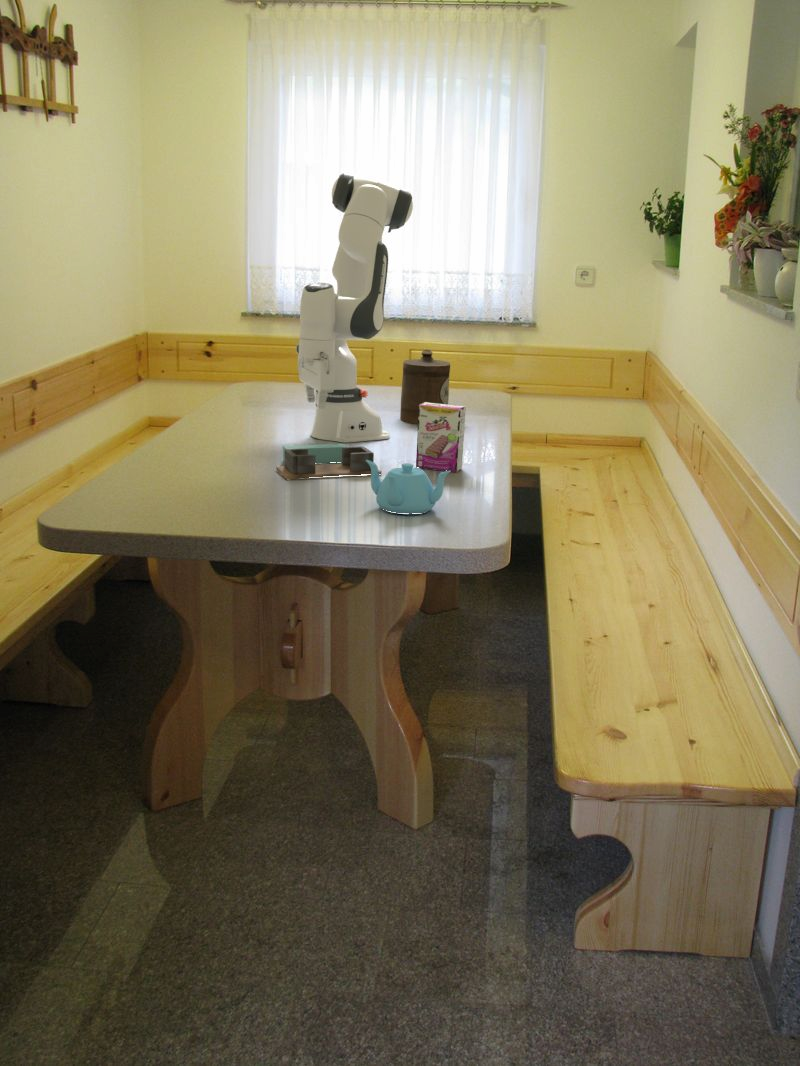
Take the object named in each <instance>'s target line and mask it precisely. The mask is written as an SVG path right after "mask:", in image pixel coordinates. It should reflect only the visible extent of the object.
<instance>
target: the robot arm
mask: <svg viewBox="0 0 800 1066" xmlns="http://www.w3.org/2000/svg"><path fill="white" fill-rule="evenodd" d="M331 200H332V204H333V206H334V208H335V209H337V210H338V211H339V212H341V213H343V217H342V218H341V219H342V220H341V222H340V225H339V230H338V242H339V245H338V247H337V251H336V254H335V257H334V261H333V265H332V268H331V273H332V276H333V278H334V279H335V280H336V285H337V286H336V287H337V289H336V292H335V288H334V285H332V284H330V283H327V282H315V283H314V282H313V283H309V284H307V285H305V286H304V287H303V289H302V293H301V297H300V298H301V299H300V307H299V322H300V326H301V327H300V333H299V338H298V339H299V341H298V343H297V344H296V346H295V352H296V354H298V355H297V370H298V377H299V381H300V382H301V383H303V384H304V389H305V393H306V401H307V402H309V403H314V404H315V414H314V421H313V424H312V425H313V426H312V429H311V433H310V437H312V438H314V439H319V440H325V441H335V442H339V443H354V442H365V441H377V440H389V439H390V433H389V432H388V431H387V430H385V429H383V425H382V424H383V423H382V420H381V417H380V414H379V413H378V412H377V411H375V409H373V408H372V407H371V406H369V405H368V404H367V403H366V402H365V401H364V400H363V399H364V398H367V397H368V396H369V392H368V391H367V390H366V389H360V388H359V387H357V374H358V373H357V371H358V367H357V365H358V361H357V358H356V357H355V355H354V354H353V353H352V352H351V349H350V348H349V345H348V342H347V340H350V341H354V340H357V341H358V340H363V339H364V340H370V339H372V338H374V337H375V336H376V335H378V334H379V332H380V331H381V330H382V328H383V325H384V313H385V312H384V304H385V295H386V286H387V277H388V268H389V267H388V266H389V252H388V248H387V246H386V244H385V243H383V233H384V231H385V227H388V231H387V233H391V231H392V230H398V229H400V228H402V227H404V226H405V224H407V222H408V220H409V219H410V217H411V215H412V213H413V207H414V204H413V195H412V193H410V191H408V190H406V189H405V188H403V187H398V186H395V185H393V184H392V183H389V182H387V181H384V180H381V179H376V178H372V177H368V176H366V175H365V176H364V175H360V174H356V172H355V173H354V172H348V171H347V172H346V171H345V172H343V173H341V174H340V175H339V176H338V178H337V179H336V180H335V181H334V184H333V186H332V189H331Z"/></svg>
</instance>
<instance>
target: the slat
mask: <svg viewBox="0 0 800 1066" xmlns="http://www.w3.org/2000/svg"><path fill="white" fill-rule="evenodd" d="M342 447H348V446H347V445H346V444H345V443H324V444H323V443H322V444H321V443H320V444H298V445H297V444H296V445H295V444H294V445H283V446H282V463H283V462H284V458H285V449H308V455H311V454H314V455H316V462H315V463H330V462H336V464H338V463H337V462H342Z"/></svg>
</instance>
